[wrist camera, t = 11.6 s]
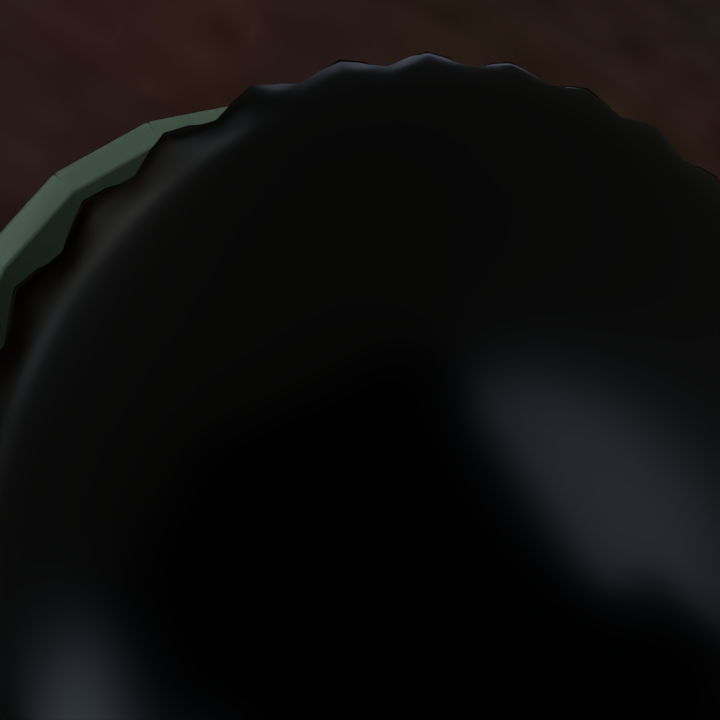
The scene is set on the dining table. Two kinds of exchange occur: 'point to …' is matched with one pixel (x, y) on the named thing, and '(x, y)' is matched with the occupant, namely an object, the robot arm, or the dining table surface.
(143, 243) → the supplement bottle
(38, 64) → the dining table surface
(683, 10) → the dining table surface
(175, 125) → the green round bowl
